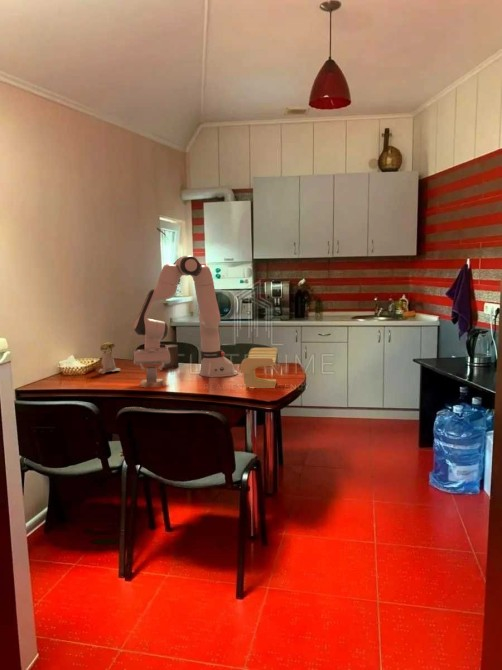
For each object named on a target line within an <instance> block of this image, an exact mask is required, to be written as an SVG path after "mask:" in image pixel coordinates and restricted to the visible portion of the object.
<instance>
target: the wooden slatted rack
mask: <svg viewBox="0 0 502 670" xmlns="http://www.w3.org/2000/svg"><path fill="white" fill-rule="evenodd" d="M277 356H278V347H251V348H250V350H249V351H248V354H247V357H246V358H243V360H242V361H241V362H240V373H242V374H243V382H244V385H245V386H246V387H247V388H248V387H255V388H274V389H275V388H276V385H277V379H267V378H260V377H258V376H256V374H255V372H256V371H255V370H256V369H257V368H262V367H274V366H275V364H276V362H277Z"/></svg>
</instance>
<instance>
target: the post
mask: <svg viewBox="0 0 502 670" xmlns="http://www.w3.org/2000/svg"><path fill="white" fill-rule="evenodd" d="M164 381H165V379H164V378H157V383H147V379H141V381H140V383H139V388H140V387H144V388H159V387H160V386H162V387H163V386H164V383H165V382H164Z"/></svg>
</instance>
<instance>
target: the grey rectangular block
mask: <svg viewBox="0 0 502 670" xmlns="http://www.w3.org/2000/svg"><path fill="white" fill-rule="evenodd" d="M157 367H158V366H155V365H154V366H146V368H145V371H146V374H145V375H146V380H147V383H157V379H158V371H157V370H158V368H157Z"/></svg>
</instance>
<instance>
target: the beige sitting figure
mask: <svg viewBox="0 0 502 670" xmlns="http://www.w3.org/2000/svg"><path fill="white" fill-rule="evenodd" d="M115 346H116V344H115V343H114V342H109V341H107V342H104V343H102V345H100V347H99V348H100V349H99V350H100V351H101V352H103V355H102V359H101V363H100V364H101V366H102V367H103V368H100V369H99V370H98V373H99V374H102V375H103V374H105V373H109V372H113V373H114V372H121V368H119V367H117V366H116V363H115V359H114V356H113V354H112V353H113V349H114V348H115Z"/></svg>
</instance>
